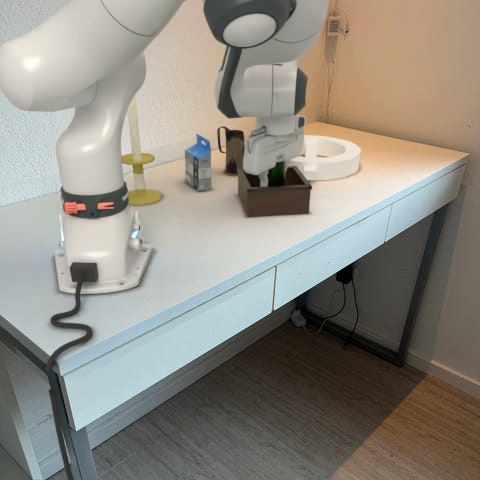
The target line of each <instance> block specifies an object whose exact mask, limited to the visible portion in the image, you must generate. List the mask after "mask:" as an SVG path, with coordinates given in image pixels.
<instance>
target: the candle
mask: <svg viewBox="0 0 480 480" xmlns="http://www.w3.org/2000/svg"><path fill="white" fill-rule="evenodd" d="M127 119H128V121H127V122H128V129H129V139H130V147H131V153H127V154H122V165H127V166H132V172H133V183H134V190H131V191H128V194H129V195H128V198H129V203H128V204H129V205H130V206H146V205H147V206H148V205H151V204H154V203H157V202H159V201H160V200H161V199H162V194H161V193H160V192H158V191H155V190H152V189H146V182H145V172H144V171H145V170H144V165H148V164H150V163H153V162H154V161H155V160H156V158H155V157H156V156H155V155H153V154H151V153H147V152H142V150H141V141H140V131H139V120H138V109H137V98H136V95H135V96H134V97H133V99H132V101H131V103H130V105H129V107H128V110H127Z"/></svg>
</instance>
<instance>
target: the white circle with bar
mask: <svg viewBox="0 0 480 480" xmlns="http://www.w3.org/2000/svg"><path fill="white" fill-rule="evenodd" d="M361 155H362V149H361V148H360V146H359V145H357V144H356V143H354V142H351V141H349V140H346V139H342V138H338V137H333V136H327V135H326V136H325V135H311V134H304V143H303V150H302V152H301V155H300V156H298V157H296V158H294V159H291V160H289V165H288V166H297V167H298V169H299V170H300V171H301V173H302V174H303V175H304V177H305V178H306V179H307V180H308V181H329V180H337V179H343V178H347V177H350V176H352V175H354V174H356V173H357V172H358V171H359V167H360V161H361ZM318 156H320V157H318Z"/></svg>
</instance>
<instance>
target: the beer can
mask: <svg viewBox="0 0 480 480" xmlns="http://www.w3.org/2000/svg"><path fill="white" fill-rule="evenodd" d="M284 156H285V154H283V156H282V155H281V156H279V157H277V160H276V165H275V167H274V168H271V169H269V170H268V174H267V177H268V180H270V186H284V175H285V157H284Z"/></svg>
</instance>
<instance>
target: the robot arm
mask: <svg viewBox="0 0 480 480" xmlns="http://www.w3.org/2000/svg"><path fill="white" fill-rule="evenodd" d="M186 1H187V0H70V1H69V2H67V4H65V5H64V6H62V7H61V8H60V9H58V10H57V11H56V12H55V13H53V14H52V15H50V16H49V17H48V18H46V19H45V20H44V21H42V22H41V23H40V24H39V25H37V26H36V27H34V28H32V29H31V30H29V31H28V32H26V33H24V34H22V35H20V36H18V37H16V38H14V39H11V40H9V41H6V42H4V43H2V44H1V46H0V90H1V92H2V94H3V95H4V97H5V98H6V99H7V100H8V101H9V102H10V103H11V104H12V105H13V106H14V107H16V108H17V109H18V110H20V111H24V112H25V111H26V112H40V113H41V112H43V113H46V112H47V113H54V112H58V111H65V110H69V109H74V112H73V117H72V120H71V122H70V123H69V125H68V126H67V128H65V130H64V131H63V132H62V133H61V134H60V135H59V136H58V138H57V140H56V144H55V156H56V160H57V165H58V172H59V176H60V182H61V187H60V201H61V203H62V204H61V205H62V210H63V211H62V212H61V213H60V214H59V215H58V219H59V224H60V233H61V234H60V235H61V240H60V241H59V243H58V244H59V248H60V249H58V250H56V251H55V252H54V261H55V262H54V263H55V269H56V275H57V284H58V289H59V291H60V292H63V293H66V294H74V301H75V305H74V308H72V309H70V310H68V311H65V312H59V313H56V314H53V315H52V316H51V317H50V323H51V325H52V326H54V327H56V328H61V329H63V328H64V329H77V330H78V329H79V330H84V331H85V332H86V334H85V335H83V336H80V337H79V338H76V339H74V340H71V341H69V342H66V343H64V344H63V345H61V346H59V347H57V348H56V349H55V350H54V351H53V352H52V354H51V355H50V356H49V358H48V360H47V362H46V366H45V371H46V372H49V371H51V370H52V369H53V365H54V363H55V361H56V359H57V358H58V357H59V356H61V354H62V353H64V352H66V351H68V350H69V349H72V348H74V347H76V346H78V345H81V344H83V343H85V342H87V341H89V339H91V337H92V336H93V329H92V327H91V326H89V325H88V324H84V323H77V322H63V321H58V320H60V319H65V318H69V317H72V316H74V315H76V314H77V313H78V312H79V311H80V309H81V304H82V303H81V295H93V294H94V295H97V294H109V293H115V292H117V293H118V292H122V291H126V290H130V289H133V288H135V287H138V286H139V285H140V284H141V280H142V278H143V277H144V276H143V275H144V273H145V271H146V268H147V267H148V264H149V261H150V259H151V256H152V254H153V247H152V246H151V244H147V243H144V242H143V239H142V231H141V223H140V218H139V217H140V216H139V212H138V211H137V209H135V208H134V207H132V205H130V204H128V203H129V198H128V195H129V194H128V192H129V188H128V185H127V182H126V181H125V179H124V168H123V163H122V156H123V154H122V134H123V129H124V128H123V127H124V123H125V118H126V116H127V114H128V111H127V110H128V107H129V105H130V103H131V101H132V99H133V97H134V96H135V97H136V94H137V93H138V92H139V91H140V89H141V88H142V87H143V85H144V83H145V80H146V77H147V76H146V75H147V61H146V56H145V54H144V52H145V50H146V49H147V48H148V47H149V46H150V45H151V43H153V41H154V40H155V39H156V38H157V37H158V36H159V35H160V34H161V33H162V32H163V31H164V29H165V28H166V27H168V25H169V23H170V22H171V21H172V20H173V18H174V17H175V16H176V14H177V13H178V11H179V10H180V8H181V7H182V5H183V3H185V2H186ZM201 1H202V4H203V8H202V9H203V10H202V12H203V15H204V19H205V20H206V23H207V26H208V28H209V30H210V33H211V34H212V36H213V38H214V39H215V40H216V41H217V42H218V43H220V44H222V45H224V46H226V47H225V51H224V54H223V58H222V63H221V65H220V68H219V70H218V72H217V73H218V74H217V75H216V79H215V83H214V101H215V104H216V109H218V111H219V112H220V113H221V114H222V115H224V117H226V118H227V119H242V118H255V129H253V130H252V131H250V134H249V136H248V137H247V139H246V141H245V149H244V158H243V169H244V171H245V173H248V174H252V175H258V176H259V179H260V186H261V187H269V186H270V180H268V177H267V174H268V170H269V169H271V168H274V167H275V165H276V160H277V157H279V156H281V155H282V156H283V154H285V156H284V157H285V172H286V170H287V168H288V165H289V160H291V159H294V158H296V157H301V156H302V155H301V152H302V150H303V143H304V135H305V128H304V127H305V126H306V125H307V116H305V115H301V114H300V112H301V111H302V110H303V109H304V108H305V107H306V105H307V103H306V96H307V85H308V80H309V77H308V75H307V74H306V73H305V72H304V71H303V70H302V69H301V68H300V67H299V59H301V58H303V57H304V56H306V55H307V54H308V53H309V52H310V51H311V50H312V49H313V48H314V47H315V46H316V44H317V43H318V40H319V38H320V36H321V34H322V32H323V29H324V25H325V23H326V18H327V16H328V15H327V14H328V10H329V4H330V0H201ZM284 179H285V175H284ZM56 393H57V392H56V389H55V387H52V388H50V389H48V394H49V398H50V404H51V410H52V416H53V421H54V427H55V431H56V436H57V442H58V446H59V451H60V454H61V460H62V463H63V467H64V471H65V474H66V477H67V480H74V476H73V472H72V468H71V464H70V460H69V457H68V452H67V451H68V450H67V447H66V443H65V438H64V433H63V429H62V423H61V417H60V411H59V405H58V399H57V394H56Z"/></svg>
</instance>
